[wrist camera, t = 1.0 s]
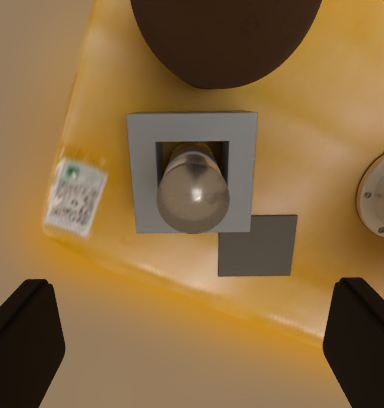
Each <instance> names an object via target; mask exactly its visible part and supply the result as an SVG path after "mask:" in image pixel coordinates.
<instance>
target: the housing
mask: <svg viewBox="0 0 384 408" xmlns="http://www.w3.org/2000/svg"><path fill="white" fill-rule="evenodd" d="M257 114H258V113H257V112H250V111H182V112H137V113H131V114H126V119H127V131H128V142H129V153H130V165H131V176H132V188H133V199H134V210H135V222H136V233H183V232H180V231H177V230H175V229H174V228H172V227H171V226H169V225H168V224H167V223H166V222H165V221H164V220H163V218H162V217H161V215H160V213H159V211H158V207H157V202H156V196H157V191H158V188H159V185H160V183H161V180H162V179H163V176H164V162H163V142H180V141H221V175H222V177H223V179H224V181H225V183H226V185H227V187H228V190H229V195H230V202H229V208H228V211H227V213H226V215H225V217H224V218H223V220H222V221H221V222H220V223H219V224H218V225H217V226H215V227H214V228H212V229H211V230H209V231H206V232H250V224H251V208H252V192H253V177H254V161H255V145H256V130H257ZM206 232H203V233H206Z"/></svg>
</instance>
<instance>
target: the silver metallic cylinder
mask: <svg viewBox="0 0 384 408" xmlns="http://www.w3.org/2000/svg"><path fill="white" fill-rule="evenodd" d="M156 202H157V207H158V211H159V213H160V215H161V217H162V218H163V220H164V221H165V222H166V223H167V224H168V225H169V226H171V227H172V228H174V229H175V230H177V231H180V232H183V233H188V234H198V233H203V232H206V231H209V230H211V229H212V228H214V227H215V226H217V225H218V224H219V223H220V222H221V221H222V220H223V218H224V217H225V215H226V213H227V211H228V208H229V202H230V195H229V190H228V187H227V185H226V183H225V181H224V179H223V177H222V175H221V172H220V170H219V168H218V165H217V163H216V161H215V158H214V156H213V154H212V152H211V150H210V149H209V148H208V147H207V146H206V145H205V144H203V143H201V142H198V141H186V142H183V143H181V144H180V145H178V146H177V147H176V148H175V150H174V151H173V153H172V155H171V158H170V160H169V163H168V166H167V168H166V171H165V174H164V176H163V179H162V180H161V183H160V185H159V188H158V191H157V196H156Z"/></svg>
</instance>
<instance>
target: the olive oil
mask: <svg viewBox="0 0 384 408" xmlns="http://www.w3.org/2000/svg"><path fill="white" fill-rule="evenodd" d="M130 1H131V5H132V9H133V13H134V16H135V19H136V22H137V24H138V27H139V29H140V31H141V33H142V35H143V37H144V39H145V41H146V43H147V44H148V46H149V47H150V49H151V50H152V52H153V53H154V54H155V56H156V57H157V58H158V59H159V60H160V61H161V62H162V63H163V64H164V65H165V66H166V67H167V68H168V69H169V70H170V71H172V72H173V73H174V74H176V75H177V76H179V77H180V78H181V79H182V80H183V81H185V82H186V83H188V84H190V85H192V86H194V87H197V88H201V89H227V88H235V87H240V86H243V85H247V84H249V83H252V82H255V81H257V80H259V79H261V78H263V77H264V76H266V75H268V74H269V73H271V72H272V71H274V70H275V69H276V68H278V67H279V66H280V65H281V64H282V63H283V62H284V61H286V60H287V59H288V57H289V56H290V55H291V54H292V53H293V52H294V51H295V50H296V48H297V47H298V46H299V44H300V43H301V42H302V40H303V39H304V37H305V36H306V34H307V32H308V30H309V29H310V27H311V25H312V23H313V21H314V19H315V17H316V14H317V12H318V9H319V7H320V4H321V2H322V0H130Z"/></svg>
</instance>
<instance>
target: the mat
mask: <svg viewBox="0 0 384 408" xmlns="http://www.w3.org/2000/svg"><path fill="white" fill-rule="evenodd" d="M296 224H297V215H254V216H251V224H250V232H219V269H218V276H219V277H223V276H290V272H291V264H292V256H293V248H294V240H295V232H296Z"/></svg>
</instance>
